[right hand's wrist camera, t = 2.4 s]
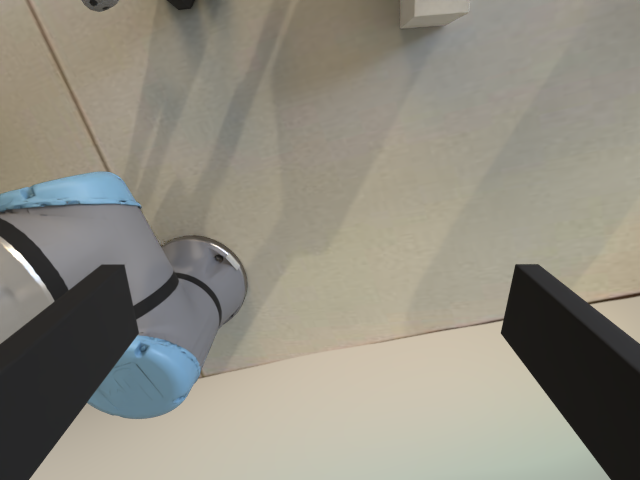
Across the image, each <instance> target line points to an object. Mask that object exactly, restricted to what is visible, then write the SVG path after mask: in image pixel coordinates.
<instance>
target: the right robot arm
mask: <svg viewBox="0 0 640 480" xmlns="http://www.w3.org/2000/svg"><path fill="white" fill-rule="evenodd" d="M141 208H142V207H141V205H140V204H139V203H138V202H136V201H135V199H134V197H133V196H132V194H131V192H130V191H129V189H128V187H127V186H126V184H125V183H124V181H123V180H122V179H121V178H120V177H119V176H117V175H115V174H113V173H110V172H92V173H86V174H80V175H75V176H70V177H65V178H60V179H56V180H52V181H47V182H43V183H40V184H36V185H33V186H31V187H25V188H22V189H18V190H13V191H9V192H6V193H2V194H0V480H29V479H30V478H31V476H32V475H33V474H34V472H35V471H36V470H37V468H38V467H39V466H40V464H41V463H42V462H43V460H44V459H45V458H46V456H47V455H48V454H49V452H50V451H51V450H52V448H53V447H54V446H55V444H56V443H57V442H58V440H59V439H60V438H61V436H62V435H63V434H64V432H65V431H66V430H67V428H68V427H69V426H70V424H71V423H72V422H73V420H74V419H75V418H76V416H77V415H78V414H79V412H80V411H81V410H82V409H83V407H84V406H85V405H86V403H88V404H90V405H91V406H93V407H94V408H96V409H98V410H100V411H102V412H105V413H108V414H110V415H116V416H120V417H124V418H130V419H145V418H152V417H156V416H160V415H163V414H166V413H168V412H170V411H172V410H173V409H175V408H176V407H177V406H179V405H180V404H181V403H182V402H183V401H184V400H185V398H186V397H187V395H188V394H189V392H190V390H191V388H192V386H193V384H194V383H195V382H196V381H197V379H198V377H199V375H200V372H201V369H202V367H203V365H204V362H205V360H206V357H207V355H208V352H209V350H210V348H211V345H212V343H213V340H214V338H215V336H216V333H217V331H218V329H219V328H220V327H221V326H222V325H223V324H225V323H226V322H228V321H229V320H230V319H231V318H232V317H233V316H235V315H236V313H237V312H238V311H239V309H240V308H241V306H242V304H243V301H244V299H245V296H246V292H247V277H246V273H245V270H244V268H243V265H242V264H241V262H240V260H239V259H238V258H237V256H236V255H235V254H234V253H233V252H232V251H231V250H230V249H228V248H227V247H226V246H224V245H223V244H221V243H219V242H217V241H215V240H213V239H210V238H206V237H202V236H183V237H178V238H175V239H173V240H170V241H169V242H167V243H165V244H164V245H163V246H160V244H159V242H158V240H157V239H156V237H155V235H154V233H153V231H152V230H151V228H150V226H149V224H148V222H147V220H146V219H145V217H144V215H143V213H142V211H141V210H140V209H141ZM501 334H502V335H503V337H504V338H505V339H506V341H507V342H508V343H509V345H510V346H511V347H512V349H513V350H514V351H515V353H516V354H517V355H518V357H519V358H520V359H521V361H522V362H523V363H524V365H525V366H526V367H527V369H528V370H529V371H530V373H531V374H532V375H533V377H534V378H535V379H536V381H537V382H538V383H539V385H540V386H541V387H542V389H543V390H544V391H545V393H546V394H547V395H548V397H549V398H550V399H551V401H552V402H553V403H554V404H555V406H556V407H557V408H558V410H559V411H560V413H561V414H562V415H563V417H564V418H565V419H566V420H567V422H568V423H569V424H570V426H571V427H572V428H573V430H574V431H575V432H576V434H577V435H578V436H579V438H580V439H581V440H582V442H583V443H584V444H585V446H586V447H587V448H588V450H589V451H590V452H591V454H592V455H593V456H594V458H595V459H596V460H597V462H598V463H599V464H600V466H601V467H602V468H603V470H604V471H605V472H606V474H607V475H608V476H609V478H610V479H611V480H640V344H639V343H638V342H636V341H635V340H634V339H633V338H631V337H630V336H629V335H628V334H626V333H625V332H624V331H623V330H621V329H620V328H619V327H617V326H616V325H615V324H614V323H612V322H611V321H610V320H608V319H607V318H606V317H605V316H603V315H602V314H601V313H599V312H598V311H597V310H596V309H594V308H593V307H592V306H591V305H589V304H588V303H587V302H586V301H584V300H583V299H582V298H580V297H579V296H578V295H577V294H575V293H574V292H573V291H572V290H570V289H569V288H568V287H566V286H565V285H564V284H563V283H561V282H560V281H559V280H558V279H556V278H555V277H554V276H552V275H551V274H550V273H549V272H547V271H546V270H545V269H544V268H542V267H541V266H540V265H538V264H516V265H515V269H514V274H513V279H512V283H511V288H510V293H509V297H508V302H507V307H506V311H505V316H504V321H503V326H502V330H501Z"/></svg>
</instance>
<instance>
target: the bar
mask: <svg viewBox="0 0 640 480" xmlns="http://www.w3.org/2000/svg"><path fill="white" fill-rule="evenodd" d="M469 5H470V0H400V29H404V28H417V27H430V26H443V25H447V24H449V23H450V22H452V21H454V20H456V19H458V18H460V17H461V16H463V15H465V14H467V13H469Z"/></svg>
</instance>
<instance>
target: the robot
mask: <svg viewBox="0 0 640 480" xmlns="http://www.w3.org/2000/svg"><path fill="white" fill-rule="evenodd" d="M118 1H119V0H82V2H83V3H84V5H85V6H87V7H88V8H89V9H91V10H94V11H98V12H100V11H104V10H107V9H109V8H111V7H113V6H114V5H116V4H117V3H118ZM167 1H169V2H170V3H171V4H172V5H173V6H175V7H176V8H177V9H178V10H181V9H191V7H192V5H193V3H194V1H195V0H167Z"/></svg>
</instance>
